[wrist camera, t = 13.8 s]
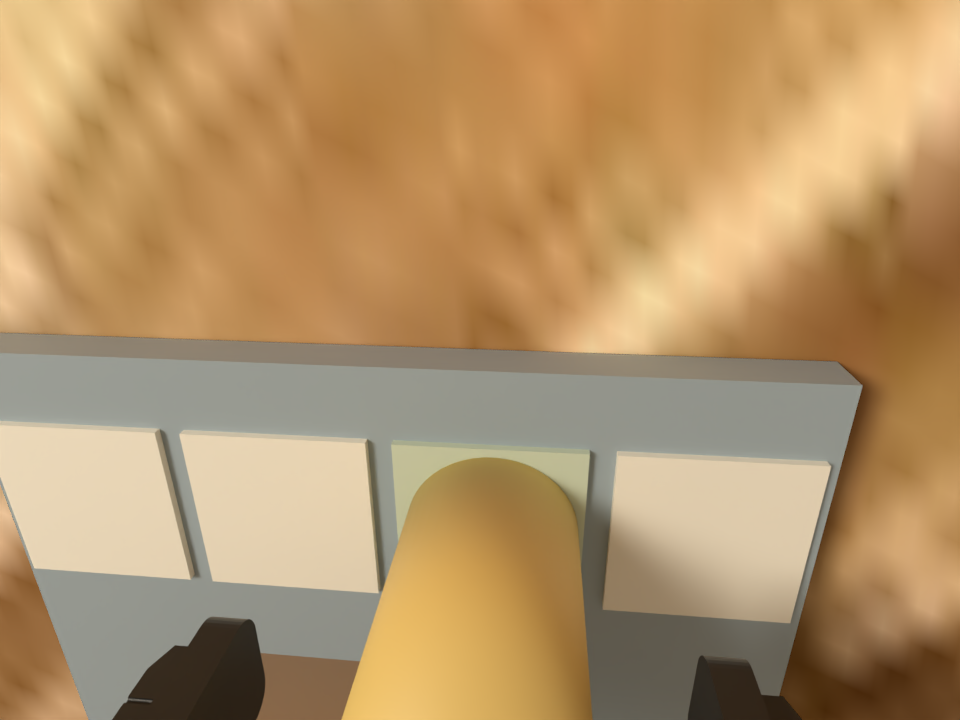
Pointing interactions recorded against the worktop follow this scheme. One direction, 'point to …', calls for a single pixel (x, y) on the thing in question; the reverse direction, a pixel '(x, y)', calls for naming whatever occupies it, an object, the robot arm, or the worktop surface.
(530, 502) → the yellow rounded oblong piece
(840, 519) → the worktop surface
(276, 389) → the board
